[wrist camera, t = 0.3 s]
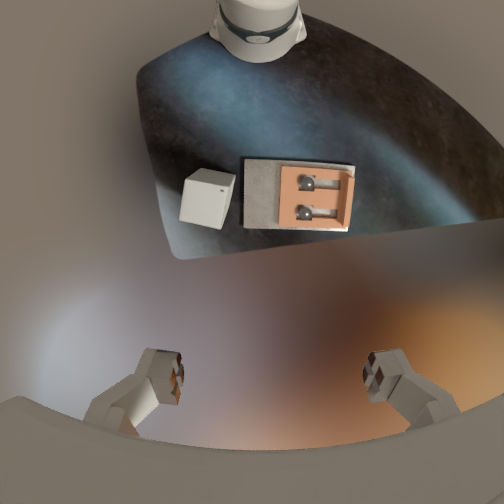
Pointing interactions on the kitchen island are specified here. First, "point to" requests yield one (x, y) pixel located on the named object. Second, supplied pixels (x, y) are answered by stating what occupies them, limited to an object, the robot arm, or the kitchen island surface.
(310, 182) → the boss plate
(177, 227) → the kitchen island surface
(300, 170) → the panel
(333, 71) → the kitchen island surface
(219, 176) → the supplement box
